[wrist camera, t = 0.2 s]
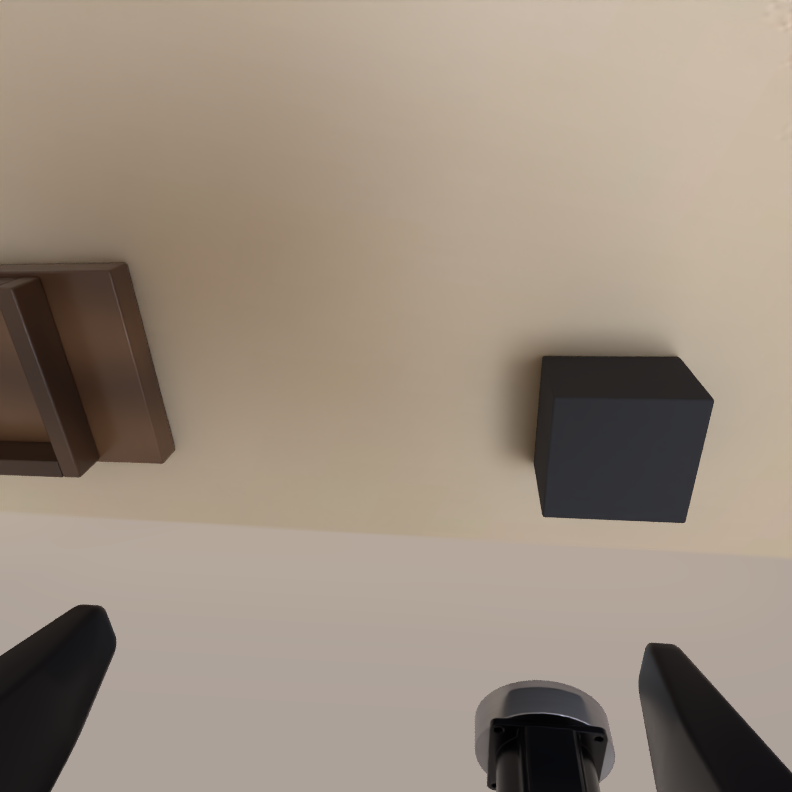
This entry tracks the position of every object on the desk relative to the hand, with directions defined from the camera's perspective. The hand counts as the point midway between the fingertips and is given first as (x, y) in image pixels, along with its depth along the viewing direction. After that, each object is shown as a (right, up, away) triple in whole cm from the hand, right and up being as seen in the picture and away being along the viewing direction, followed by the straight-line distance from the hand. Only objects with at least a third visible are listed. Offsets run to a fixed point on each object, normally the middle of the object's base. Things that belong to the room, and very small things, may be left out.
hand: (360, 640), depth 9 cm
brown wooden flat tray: (-19, +5, +16) cm, 25 cm away
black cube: (+9, +3, +13) cm, 16 cm away
